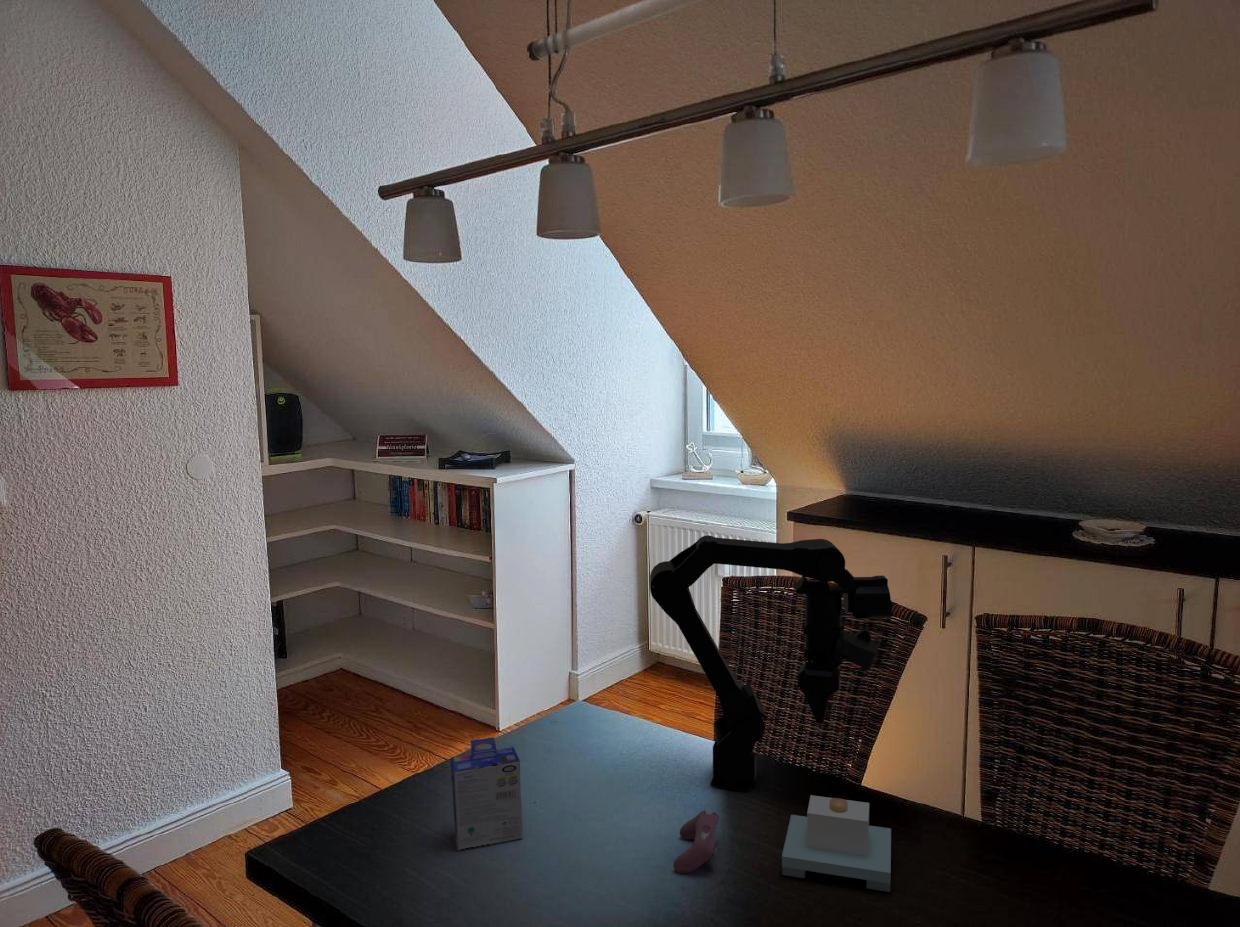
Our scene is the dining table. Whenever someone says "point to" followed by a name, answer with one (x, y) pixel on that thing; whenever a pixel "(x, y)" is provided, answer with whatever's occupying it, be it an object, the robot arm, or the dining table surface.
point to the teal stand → (838, 857)
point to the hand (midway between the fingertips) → (822, 711)
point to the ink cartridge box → (486, 796)
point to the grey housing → (838, 825)
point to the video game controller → (698, 841)
